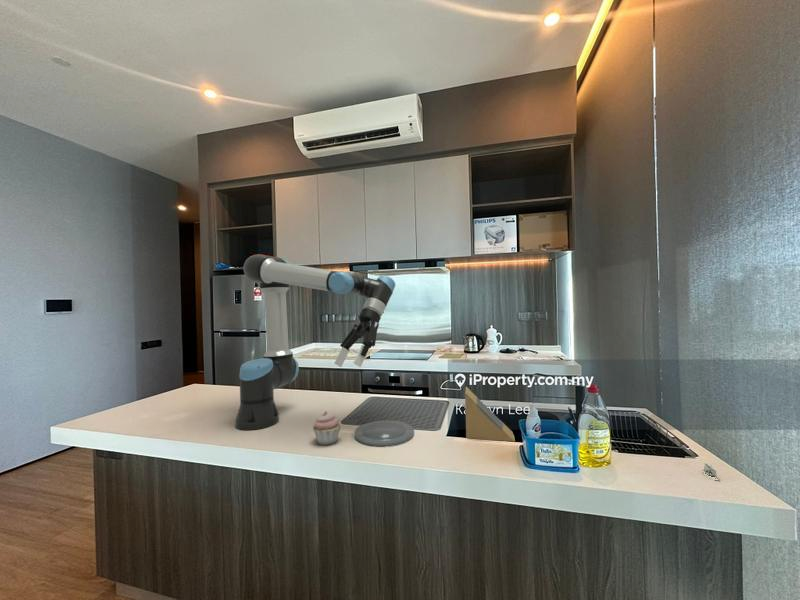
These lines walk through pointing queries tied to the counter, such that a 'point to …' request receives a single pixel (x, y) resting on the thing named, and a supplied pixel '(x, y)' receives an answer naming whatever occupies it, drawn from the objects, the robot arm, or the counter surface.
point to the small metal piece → (710, 471)
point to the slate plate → (384, 433)
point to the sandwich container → (483, 421)
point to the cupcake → (326, 428)
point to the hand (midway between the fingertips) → (346, 365)
